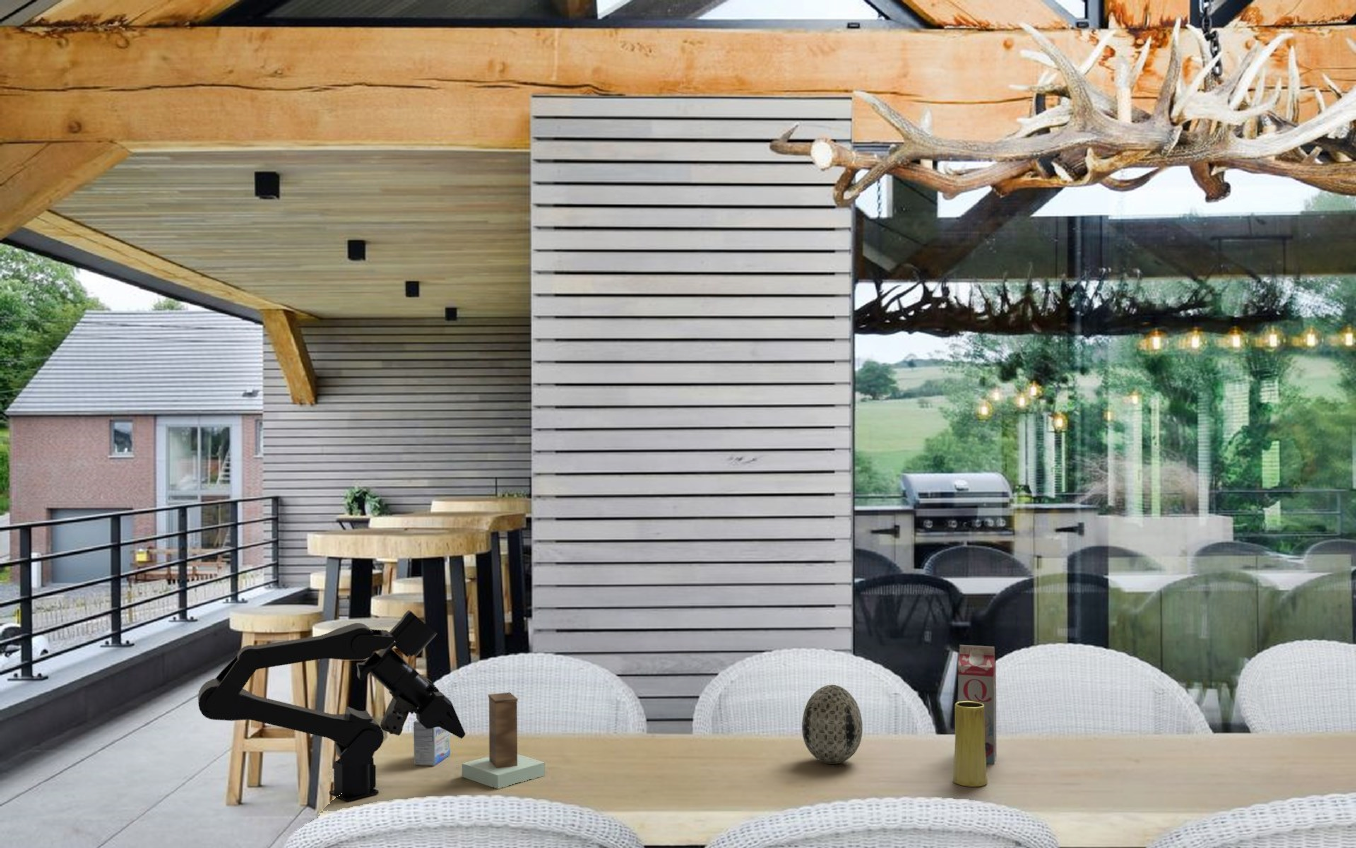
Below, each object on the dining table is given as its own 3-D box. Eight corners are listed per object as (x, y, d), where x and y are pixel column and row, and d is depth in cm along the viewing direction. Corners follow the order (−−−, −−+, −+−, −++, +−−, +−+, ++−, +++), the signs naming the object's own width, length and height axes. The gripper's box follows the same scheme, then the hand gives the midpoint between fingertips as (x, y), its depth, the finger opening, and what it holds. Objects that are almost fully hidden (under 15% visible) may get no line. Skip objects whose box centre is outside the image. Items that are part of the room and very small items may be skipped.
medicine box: (434, 766, 227) (434, 722, 227) (413, 765, 228) (413, 721, 228) (450, 755, 235) (450, 712, 235) (429, 754, 235) (429, 711, 235)
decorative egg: (790, 759, 230) (790, 683, 230) (839, 751, 235) (839, 676, 235) (824, 774, 220) (823, 694, 220) (875, 766, 225) (874, 688, 225)
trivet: (497, 789, 212) (497, 775, 212) (462, 776, 220) (462, 763, 220) (545, 775, 220) (544, 762, 220) (508, 764, 228) (508, 751, 228)
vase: (962, 775, 219) (961, 699, 219) (993, 781, 215) (992, 703, 215) (947, 783, 214) (946, 705, 214) (978, 789, 210) (978, 710, 210)
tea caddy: (495, 768, 217) (495, 701, 217) (488, 760, 222) (488, 694, 222) (518, 765, 218) (517, 698, 218) (510, 758, 223) (509, 692, 223)
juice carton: (994, 764, 226) (993, 649, 226) (958, 761, 228) (958, 648, 228) (996, 754, 232) (995, 643, 232) (962, 752, 234) (961, 642, 234)
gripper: (358, 700, 219) (418, 752, 223) (373, 722, 202) (437, 778, 206) (401, 654, 222) (459, 707, 226) (418, 672, 205) (481, 729, 209)
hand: (458, 730), depth 217 cm, fingers open, 9 cm apart
